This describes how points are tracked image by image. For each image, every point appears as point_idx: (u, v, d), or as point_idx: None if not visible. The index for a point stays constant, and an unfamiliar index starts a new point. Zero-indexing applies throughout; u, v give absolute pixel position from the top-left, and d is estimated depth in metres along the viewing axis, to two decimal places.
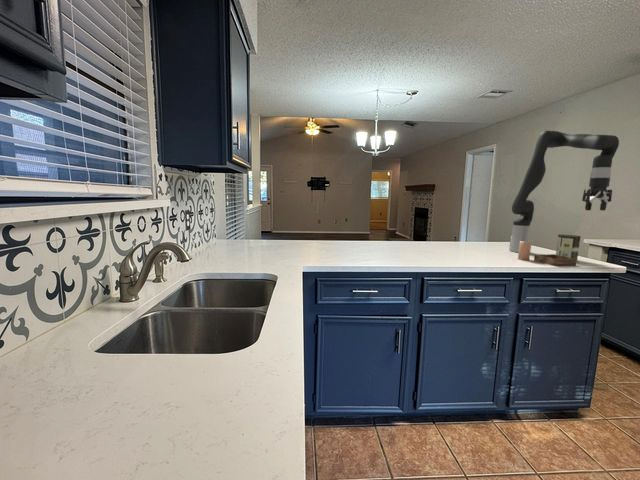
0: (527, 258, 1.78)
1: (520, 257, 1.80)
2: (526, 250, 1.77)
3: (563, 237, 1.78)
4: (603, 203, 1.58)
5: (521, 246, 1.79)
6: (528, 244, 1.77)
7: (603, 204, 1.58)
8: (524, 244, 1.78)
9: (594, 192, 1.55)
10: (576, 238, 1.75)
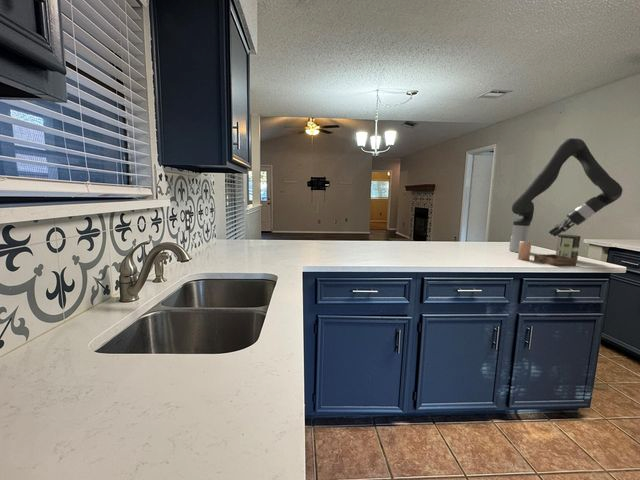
0: (527, 258, 1.78)
1: (520, 257, 1.80)
2: (526, 250, 1.77)
3: (563, 237, 1.78)
4: (556, 229, 1.76)
5: (521, 246, 1.79)
6: (528, 244, 1.77)
7: (555, 230, 1.76)
8: (524, 244, 1.78)
9: None
10: (576, 238, 1.75)
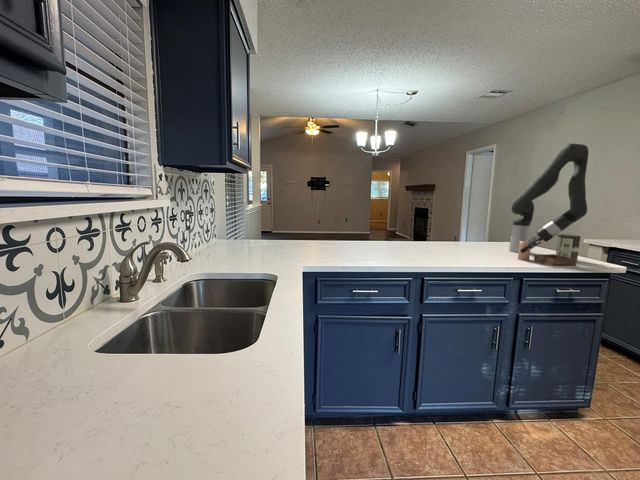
0: (527, 258, 1.78)
1: (520, 257, 1.80)
2: None
3: (563, 237, 1.78)
4: None
5: (521, 246, 1.79)
6: None
7: None
8: (524, 244, 1.78)
9: None
10: (576, 238, 1.75)
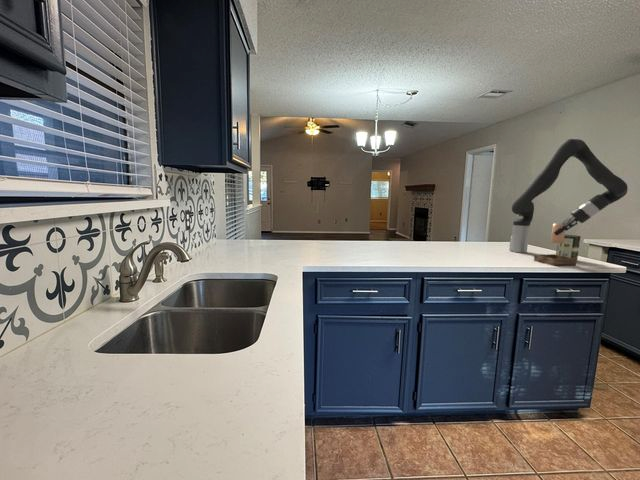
0: (561, 241, 1.68)
1: (553, 240, 1.69)
2: None
3: None
4: None
5: (555, 228, 1.69)
6: None
7: None
8: (558, 226, 1.67)
9: None
10: (576, 238, 1.75)
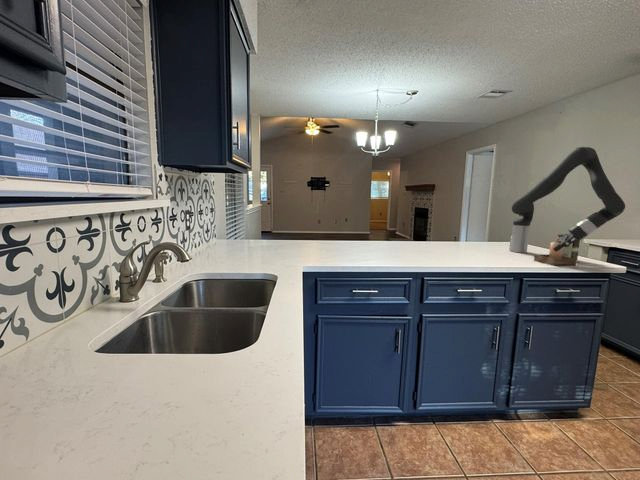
0: None
1: None
2: (558, 251, 1.69)
3: None
4: None
5: (552, 247, 1.70)
6: None
7: None
8: (556, 245, 1.69)
9: None
10: (576, 238, 1.75)
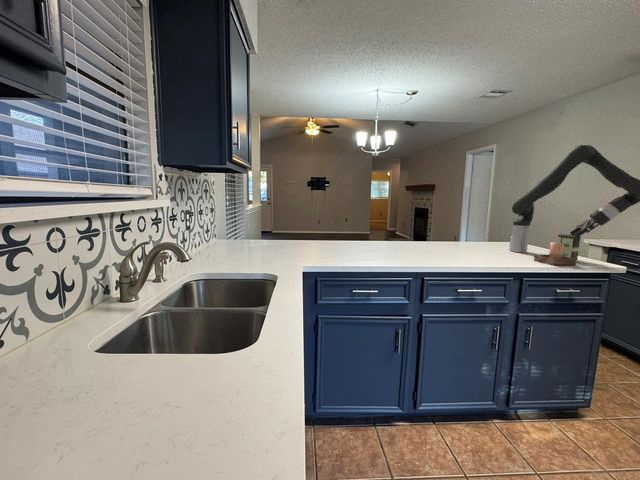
0: None
1: None
2: (558, 251, 1.69)
3: (563, 237, 1.78)
4: (577, 230, 1.69)
5: (552, 247, 1.70)
6: (560, 245, 1.68)
7: (577, 231, 1.69)
8: (556, 245, 1.69)
9: None
10: (576, 238, 1.75)
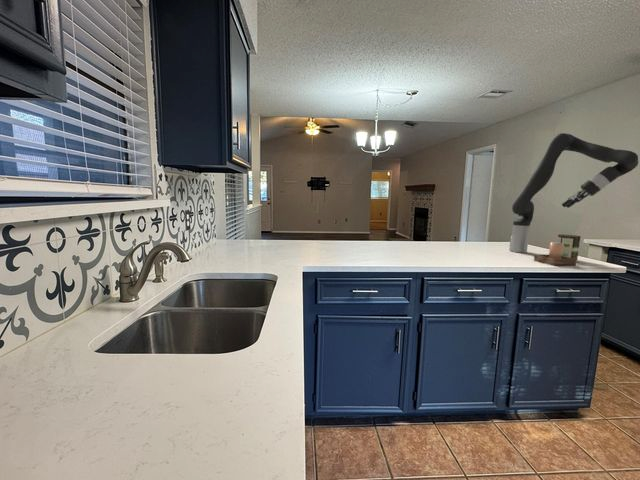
0: None
1: None
2: (558, 251, 1.69)
3: (563, 237, 1.78)
4: (569, 202, 1.73)
5: (552, 247, 1.70)
6: (560, 245, 1.68)
7: None
8: (555, 245, 1.69)
9: None
10: (576, 238, 1.75)
